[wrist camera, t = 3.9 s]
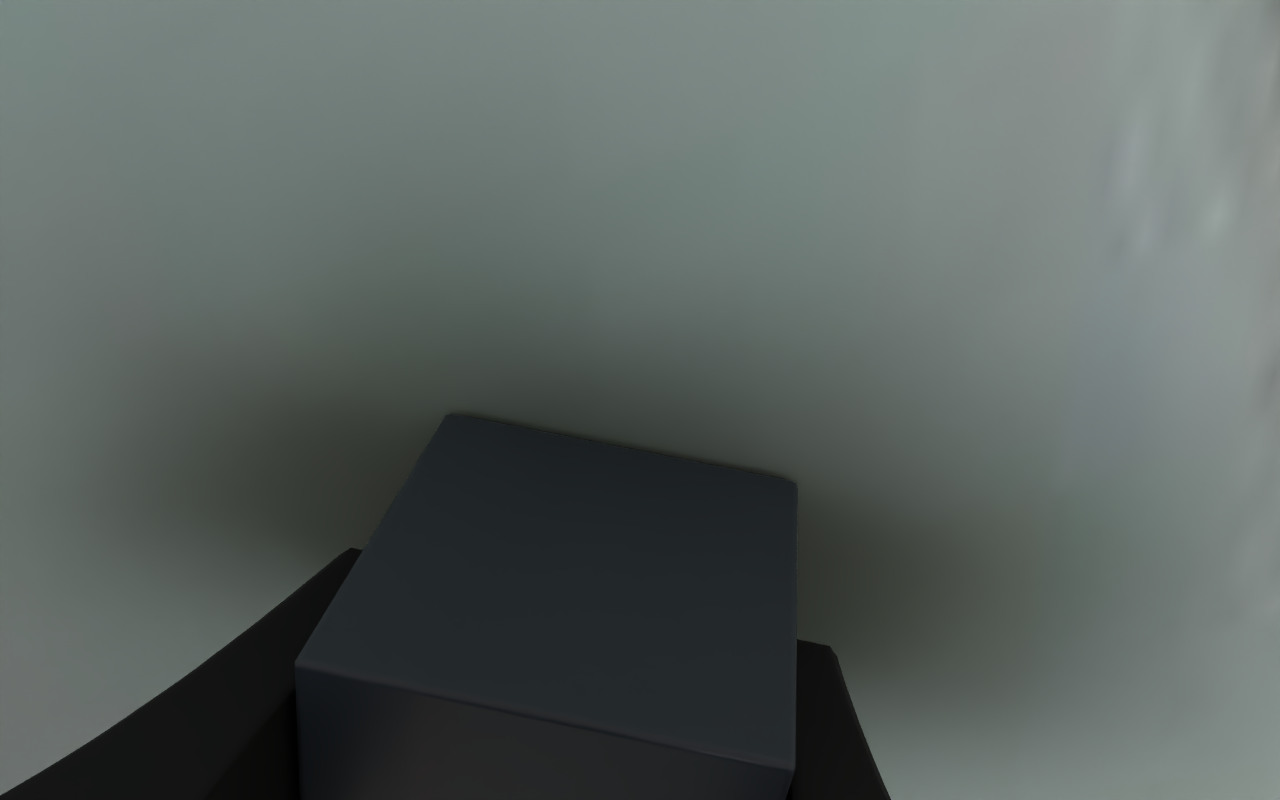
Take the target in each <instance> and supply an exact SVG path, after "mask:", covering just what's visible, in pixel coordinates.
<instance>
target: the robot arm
mask: <svg viewBox="0 0 1280 800" xmlns="http://www.w3.org/2000/svg"><path fill="white" fill-rule="evenodd" d="M362 551H363V550H359V549H354V548H350V549H348V550H346V551H345V552H343V553H341V554H340V555H339V556H338V557H336V558H335V559H334V560H333V561H331V562H330V563H329V564H328V565H327V566H325V567H324V568H323V569H322V570H320V571H319V572H318V573H317V574H316V575H314V576H313V577H312V578H311V579H310V580H308V581H307V582H306V583H305V584H303V585H302V586H301V587H300V588H299V589H297V590H296V591H295V592H294V593H292V594H291V595H290V596H289V597H288V598H286V599H285V600H284V601H283V602H281V603H280V604H279V605H278V606H276V607H275V608H274V609H273V610H271V611H270V612H269V613H268V614H266V615H265V616H264V617H263V618H261V619H260V620H259V621H258V622H256V623H255V624H254V625H252V626H251V627H250V628H249V629H247V630H246V631H245V632H243V633H242V634H241V635H239V636H238V637H237V638H235V639H234V640H233V641H231V642H230V643H229V644H228V645H226V646H225V647H224V648H222V649H221V650H220V651H218V652H217V653H216V654H214V655H213V656H212V657H210V658H209V659H208V660H206V661H205V662H204V663H202V664H201V665H200V666H199V667H197V668H196V669H195V670H193V671H192V672H190V673H189V674H188V675H186V676H185V677H184V678H182V679H181V680H179V681H178V682H177V683H175V684H174V685H172V686H171V687H169V688H168V689H166V690H165V691H164V692H162V693H161V694H159V695H158V696H156V697H155V698H153V699H152V700H150V701H149V702H148V703H146V704H145V705H143V706H142V707H140V708H139V709H137V710H136V711H134V712H133V713H132V714H130V715H129V716H127V717H126V718H124V719H123V720H121V721H120V722H119V723H117V724H116V725H114V726H113V727H111V728H110V729H108V730H107V731H105V732H104V733H102V734H101V735H99V736H98V737H96V738H94V739H93V740H91V741H90V742H88V743H87V744H85V745H83V746H82V747H80V748H79V749H77V750H76V751H74V752H72V753H71V754H69V755H68V756H66V757H64V758H63V759H61V760H60V761H58V762H56V763H55V764H53V765H51V766H50V767H48V768H46V769H45V770H43V771H41V772H40V773H38V774H36V775H35V776H33V777H31V778H30V779H28V780H26V781H24V782H23V783H21V784H19V785H18V786H16V787H14V788H13V789H11V790H9V791H8V792H6V793H4V794H2V795H1V796H0V800H300V793H299V767H298V741H297V715H296V689H295V661H296V659H297V657H298V656H299V654H300V652H301V651H302V649H303V647H304V646H305V644H306V643H307V641H308V639H309V638H310V636H311V634H312V633H313V631H314V629H315V628H316V626H317V625H318V623H319V621H320V620H321V618H322V616H323V615H324V613H325V611H326V610H327V608H328V607H329V605H330V603H331V602H332V600H333V598H334V597H335V595H336V594H337V592H338V590H339V589H340V587H341V585H342V584H343V582H344V580H345V579H346V577H347V576H348V574H349V572H350V571H351V569H352V567H353V566H354V564H355V562H356V561H357V559H358V558H359V556H360V554H361V553H362ZM786 800H891V798H890V796H889V794H888V792H887V789H886V787H885V785H884V783H883V780H882V778H881V776H880V773H879V771H878V768H877V766H876V764H875V761H874V759H873V756H872V754H871V751H870V749H869V746H868V744H867V741H866V738H865V736H864V733H863V731H862V728H861V726H860V723H859V720H858V718H857V715H856V712H855V709H854V707H853V704H852V701H851V698H850V695H849V692H848V690H847V686H846V683H845V680H844V677H843V674H842V671H841V668H840V665H839V661H838V658H837V656H836V654H835V653H834V651H833V650H832V649H831V647H830V646H827V645H822V644H818V643H813V642H808V641H803V640H798V639H797V663H796V768H795V772H794V775H793V778H792V781H791V784H790V787H789V790H788V793H787V796H786Z"/></svg>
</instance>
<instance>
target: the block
mask: <svg viewBox="0 0 1280 800" xmlns="http://www.w3.org/2000/svg"><path fill="white" fill-rule="evenodd" d="M797 526H798V488H797V484H796V483H795V482H793V481H790V480H785V479H780V478H775V477H770V476H765V475H760V474H755V473H750V472H745V471H740V470H734V469H729V468H724V467H719V466H714V465H709V464H704V463H699V462H694V461H689V460H684V459H679V458H674V457H669V456H664V455H658V454H653V453H648V452H643V451H638V450H633V449H628V448H623V447H618V446H613V445H608V444H603V443H598V442H593V441H587V440H582V439H577V438H572V437H567V436H562V435H557V434H552V433H547V432H542V431H537V430H532V429H527V428H522V427H516V426H511V425H506V424H501V423H496V422H491V421H486V420H481V419H476V418H471V417H466V416H461V415H456V414H447V415H445V417H444V419H443V420H442V422H441V424H440V425H439V427H438V428H437V430H436V432H435V433H434V435H433V437H432V438H431V440H430V441H429V443H428V445H427V446H426V448H425V450H424V451H423V453H422V455H421V456H420V458H419V459H418V461H417V463H416V464H415V466H414V468H413V469H412V471H411V473H410V474H409V476H408V477H407V479H406V481H405V482H404V484H403V486H402V487H401V489H400V491H399V492H398V494H397V495H396V497H395V499H394V500H393V502H392V504H391V505H390V507H389V509H388V510H387V512H386V513H385V515H384V517H383V518H382V520H381V522H380V523H379V525H378V526H377V528H376V530H375V531H374V533H373V535H372V536H371V538H370V540H369V541H368V543H367V544H366V546H365V548H364V549H363V551H362V553H361V554H360V556H359V558H358V559H357V561H356V562H355V564H354V566H353V567H352V569H351V571H350V572H349V574H348V576H347V577H346V579H345V580H344V582H343V584H342V585H341V587H340V589H339V590H338V592H337V594H336V595H335V597H334V598H333V600H332V602H331V603H330V605H329V607H328V608H327V610H326V611H325V613H324V615H323V616H322V618H321V620H320V621H319V623H318V625H317V626H316V628H315V629H314V631H313V633H312V634H311V636H310V638H309V639H308V641H307V643H306V644H305V646H304V647H303V649H302V651H301V652H300V654H299V656H298V657H297V659H296V661H295V689H296V715H297V741H298V767H299V793H300V800H786V796H787V793H788V790H789V787H790V784H791V781H792V778H793V775H794V772H795V768H796V663H797Z"/></svg>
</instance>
